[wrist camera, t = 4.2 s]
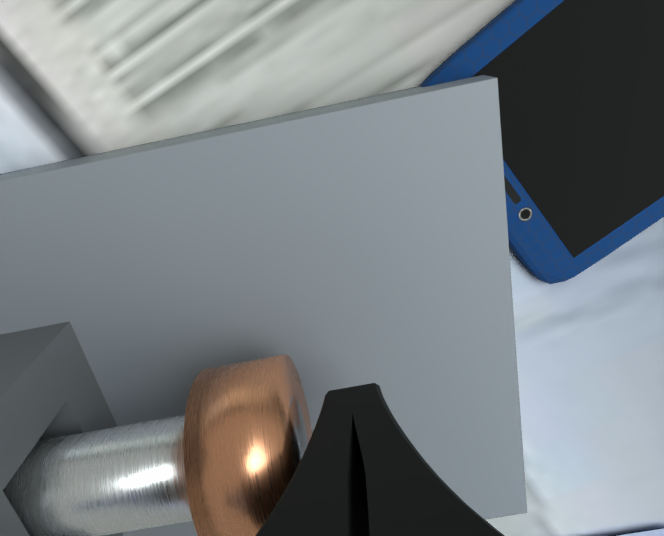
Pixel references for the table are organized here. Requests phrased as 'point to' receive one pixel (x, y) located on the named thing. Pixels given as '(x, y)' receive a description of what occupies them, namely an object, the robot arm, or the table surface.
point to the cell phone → (574, 124)
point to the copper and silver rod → (175, 461)
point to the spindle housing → (274, 280)
